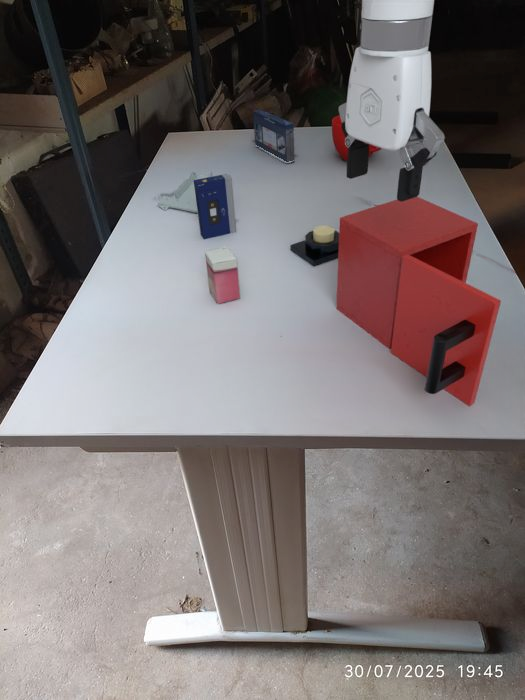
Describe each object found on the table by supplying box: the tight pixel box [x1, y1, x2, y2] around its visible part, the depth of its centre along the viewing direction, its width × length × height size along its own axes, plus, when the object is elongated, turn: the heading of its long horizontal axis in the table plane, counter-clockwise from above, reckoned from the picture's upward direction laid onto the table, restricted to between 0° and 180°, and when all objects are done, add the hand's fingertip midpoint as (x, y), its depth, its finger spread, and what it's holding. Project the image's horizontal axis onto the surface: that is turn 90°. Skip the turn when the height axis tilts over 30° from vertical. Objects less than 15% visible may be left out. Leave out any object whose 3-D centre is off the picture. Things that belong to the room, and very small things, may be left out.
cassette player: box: [194, 173, 237, 240], centre depth 109 cm, size 7×2×12 cm, turn 112°
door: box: [390, 254, 502, 407], centre depth 68 cm, size 7×14×16 cm, turn 34°
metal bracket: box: [157, 170, 214, 218], centre depth 125 cm, size 14×6×15 cm
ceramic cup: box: [331, 114, 383, 162], centre depth 139 cm, size 13×17×10 cm
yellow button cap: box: [312, 225, 335, 243], centre depth 102 cm, size 4×4×2 cm
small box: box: [204, 245, 241, 305], centre depth 91 cm, size 5×4×8 cm
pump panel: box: [290, 229, 339, 267], centre depth 103 cm, size 10×8×3 cm
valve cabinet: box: [335, 196, 479, 350], centre depth 81 cm, size 13×14×16 cm
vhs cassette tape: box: [252, 109, 296, 162], centre depth 147 cm, size 18×3×10 cm, turn 27°
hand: (381, 186), depth 70 cm, fingers open, 9 cm apart
